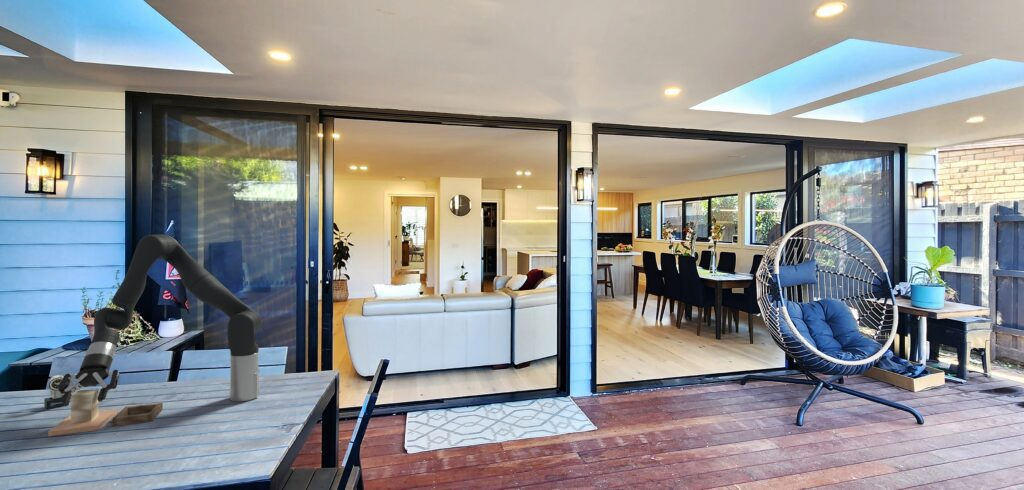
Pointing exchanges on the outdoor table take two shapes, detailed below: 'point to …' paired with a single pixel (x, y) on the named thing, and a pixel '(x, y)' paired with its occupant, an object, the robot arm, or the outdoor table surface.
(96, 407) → the ash block
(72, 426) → the terracotta tile
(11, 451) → the outdoor table surface
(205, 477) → the outdoor table surface
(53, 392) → the watch
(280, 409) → the outdoor table surface
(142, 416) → the walnut pocket frame
